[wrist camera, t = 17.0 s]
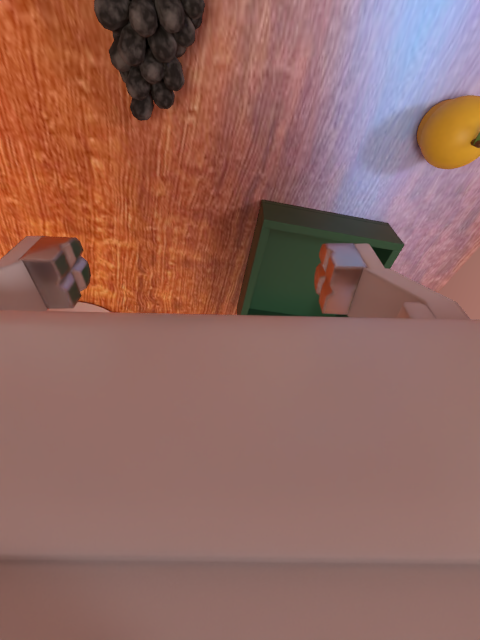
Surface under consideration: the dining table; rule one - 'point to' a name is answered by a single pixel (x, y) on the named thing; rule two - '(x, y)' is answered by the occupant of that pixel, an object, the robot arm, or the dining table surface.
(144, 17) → the fruit
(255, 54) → the dining table surface
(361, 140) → the dining table surface
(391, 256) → the crate
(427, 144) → the orange
